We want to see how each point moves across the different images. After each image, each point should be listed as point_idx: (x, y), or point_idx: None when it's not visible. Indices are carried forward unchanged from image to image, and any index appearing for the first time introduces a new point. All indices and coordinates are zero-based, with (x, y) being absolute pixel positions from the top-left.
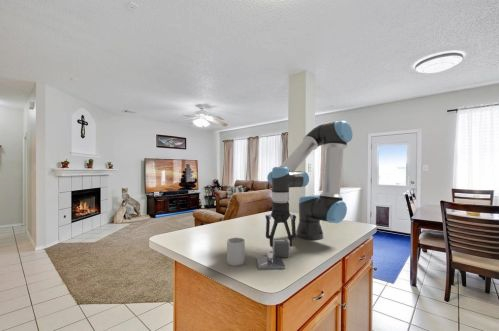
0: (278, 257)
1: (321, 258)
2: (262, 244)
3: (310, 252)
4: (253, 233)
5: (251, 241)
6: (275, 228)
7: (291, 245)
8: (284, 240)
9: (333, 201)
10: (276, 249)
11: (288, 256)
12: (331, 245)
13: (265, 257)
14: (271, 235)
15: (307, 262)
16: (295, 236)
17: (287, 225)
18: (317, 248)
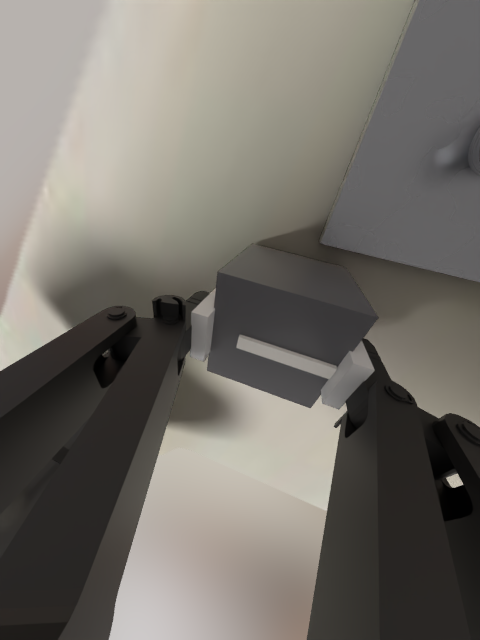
0: (349, 223)
1: (76, 177)
2: (298, 423)
3: (124, 278)
4: (276, 485)
5: (325, 458)
6: (400, 597)
7: (197, 293)
8: (233, 345)
9: None
10: (345, 283)
11: (253, 244)
12: (49, 316)
13: (464, 252)
14: (419, 435)
15: (160, 113)
16: (107, 313)
17: (21, 562)
18: (94, 309)
